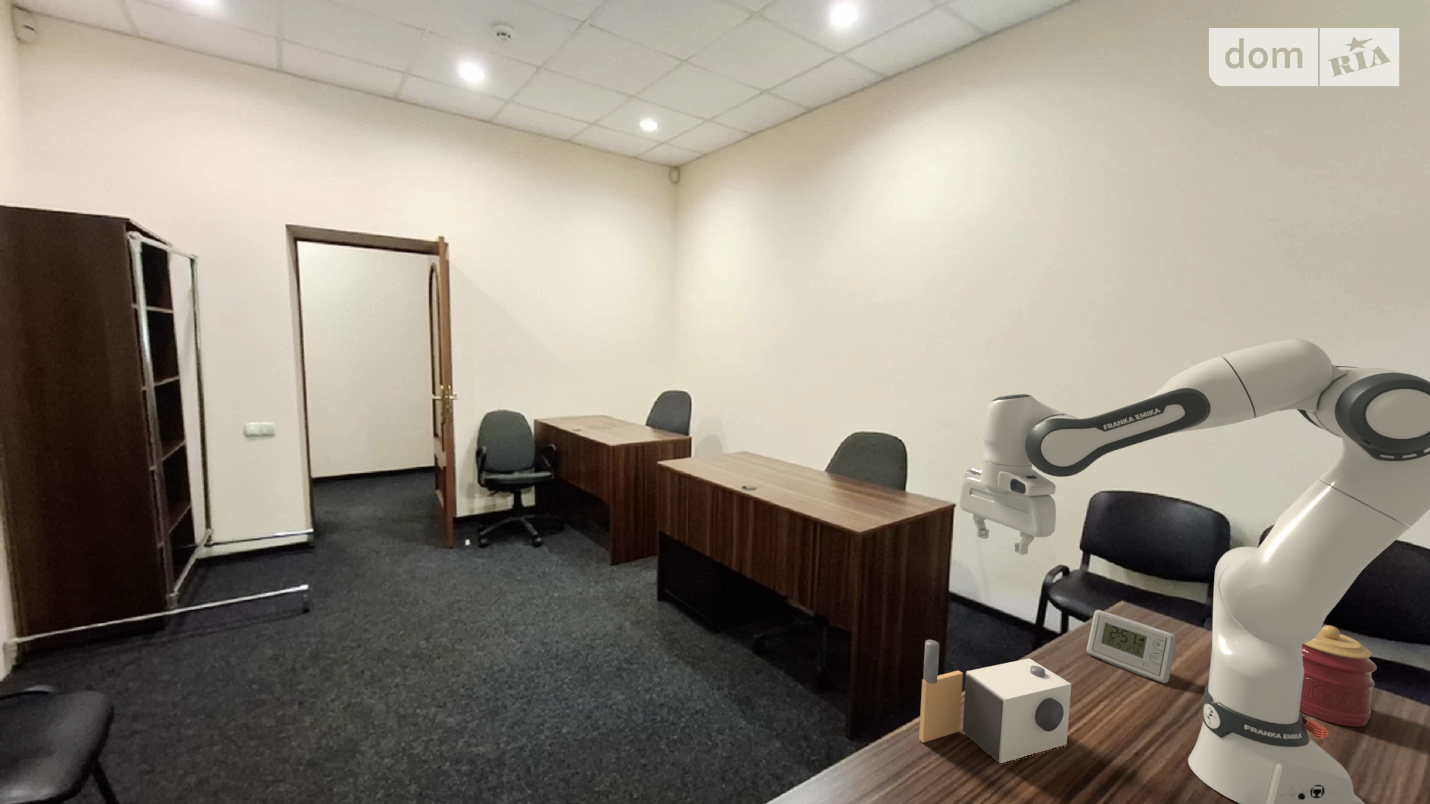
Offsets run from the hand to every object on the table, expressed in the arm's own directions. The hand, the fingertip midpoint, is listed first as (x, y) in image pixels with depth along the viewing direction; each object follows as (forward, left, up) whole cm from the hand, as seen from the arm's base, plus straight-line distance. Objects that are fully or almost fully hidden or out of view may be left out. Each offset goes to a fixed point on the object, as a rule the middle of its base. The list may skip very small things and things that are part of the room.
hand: (1001, 545), depth 111 cm
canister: (-69, -12, -34) cm, 78 cm away
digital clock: (-38, -22, -34) cm, 56 cm away
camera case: (-1, +9, -34) cm, 35 cm away
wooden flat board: (+13, +11, -34) cm, 38 cm away
